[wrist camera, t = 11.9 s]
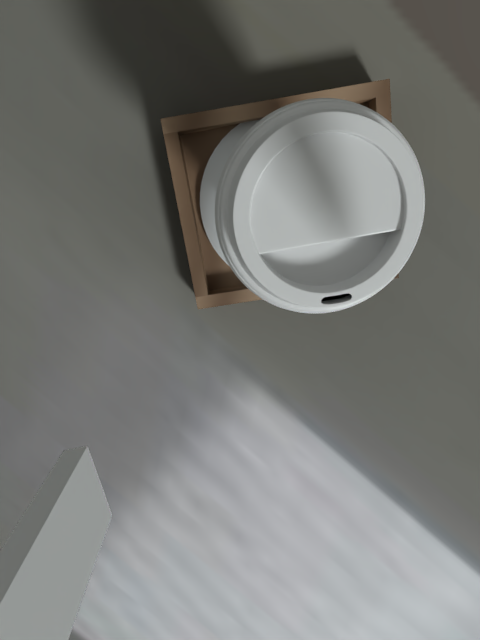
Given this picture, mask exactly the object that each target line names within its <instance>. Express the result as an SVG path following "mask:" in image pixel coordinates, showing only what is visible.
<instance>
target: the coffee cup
mask: <svg viewBox="0 0 480 640" xmlns="http://www.w3.org/2000/svg"><path fill="white" fill-rule="evenodd" d="M424 210H425V191H424V183H423V178H422V173H421V170H420V166H419V163H418V161H417V158H416V156H415V154H414V152H413V150H412V148H411V146H410V145H409V143H408V142H407V140H406V139H405V137H404V136H403V135H402V134H401V132H400V131H399V130H398V129H397V128H396V127H395V126H394V125H393V124H392V123H391V122H390V121H388V120H387V119H386V118H384V117H383V116H382V115H380V114H379V113H377V112H375V111H373V110H372V109H370V108H367V107H365V106H363V105H360V104H358V103H355V102H351V101H347V100H343V99H336V98H314V99H307V100H302V101H298V102H294V103H291V104H289V105H286V106H284V107H281V108H279V109H277V110H275V111H273V112H272V113H270V114H268V115H267V116H265V117H264V118H262V119H261V120H260V121H259V122H257V123H256V124H255V125H254V126H253V127H252V128H250V129H249V130H248V131H247V133H246V134H245V135H244V136H243V137H242V138H241V139H240V141H239V142H238V143H237V145H236V146H235V147H234V149H233V151H232V152H231V154H230V156H229V157H228V159H227V161H226V163H225V166H224V168H223V170H222V173H221V176H220V179H219V183H218V187H217V192H216V198H215V225H216V232H217V236H218V240H219V244H220V247H221V250H222V252H223V254H224V257H225V259H226V261H227V263H228V264H229V266H230V268H231V269H232V271H233V272H234V274H235V275H236V276H237V277H238V279H239V280H240V281H241V282H242V283H243V284H244V285H245V286H246V287H247V288H248V289H249V290H250V291H252V292H253V293H254V294H255V295H257V296H258V297H260V298H261V299H263V300H265V301H267V302H268V303H271V304H273V305H275V306H278V307H280V308H283V309H287V310H291V311H295V312H301V313H328V312H334V311H339V310H343V309H346V308H349V307H352V306H354V305H357V304H359V303H361V302H363V301H365V300H367V299H368V298H370V297H372V296H373V295H375V294H376V293H377V292H379V291H380V290H381V289H383V288H384V287H385V286H386V285H387V284H388V283H389V282H390V281H392V280H393V278H394V277H395V276H396V275H397V274H398V273H399V272H400V270H401V269H402V268H403V266H404V265H405V263H406V262H407V260H408V259H409V257H410V255H411V253H412V252H413V250H414V247H415V245H416V243H417V240H418V238H419V235H420V231H421V228H422V223H423V218H424Z"/></svg>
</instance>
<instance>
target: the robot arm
mask: <svg viewBox="0 0 480 640" xmlns="http://www.w3.org/2000/svg"><path fill="white" fill-rule="evenodd" d="M111 518H112V513H111V510H110V507H109V505H108V502H107V499H106V496H105V494H104V491H103V488H102V485H101V482H100V480H99V477H98V474H97V471H96V468H95V466H94V463H93V460H92V457H91V454H90V452H89V449H88V446H84V447H79V448H74V449H69V450H64V451H63V453H62V454H61V456H60V457H59V459H58V461H57V462H56V464H55V465H54V467H53V468H52V470H51V472H50V473H49V475H48V476H47V478H46V479H45V481H44V483H43V484H42V486H41V487H40V489H39V490H38V492H37V494H36V495H35V497H34V498H33V500H32V501H31V503H30V505H29V506H28V508H27V509H26V511H25V513H24V514H23V516H22V517H21V519H20V520H19V522H18V524H17V525H16V527H15V528H14V530H13V531H12V533H11V535H10V536H9V538H8V539H7V541H6V542H5V544H4V546H3V547H2V549H1V550H0V640H68V639H69V636H70V633H71V631H72V628H73V625H74V622H75V619H76V617H77V614H78V611H79V608H80V605H81V602H82V600H83V597H84V594H85V591H86V588H87V586H88V583H89V580H90V577H91V574H92V572H93V569H94V566H95V563H96V560H97V557H98V555H99V552H100V549H101V546H102V543H103V541H104V538H105V535H106V532H107V529H108V526H109V524H110V521H111Z"/></svg>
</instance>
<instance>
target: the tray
mask: <svg viewBox="0 0 480 640" xmlns="http://www.w3.org/2000/svg"><path fill="white" fill-rule="evenodd" d="M314 98H336V99H343V100H347V101H351V102H355V103H358V104H360V105H363V106H365V107H367V108H370V109H372V110H373V111H375V112H377V113H379V114H380V115H382V116H383V117H384V118H386V119H387V120H388V121H390V122H391V123H392V121H391V98H390V79H386V80H380V81H374V82H368V83H363V84H357V85H351V86H345V87H340V88H334V89H328V90H322V91H317V92H311V93H305V94H300V95H294V96H288V97H282V98H277V99H271V100H265V101H259V102H254V103H248V104H242V105H236V106H231V107H225V108H219V109H213V110H208V111H202V112H196V113H190V114H185V115H179V116H173V117H168V118H162V119H161V124H162V129H163V135H164V140H165V145H166V150H167V155H168V160H169V165H170V170H171V175H172V180H173V185H174V190H175V195H176V201H177V206H178V211H179V216H180V221H181V226H182V231H183V236H184V241H185V246H186V251H187V256H188V261H189V267H190V272H191V277H192V282H193V287H194V292H195V297H196V302H197V307H198V309H203V308H210V307H216V306H222V305H229V304H235V303H241V302H248V301H254V300H260V299H261V298H260V297H258V296H257V295H255V294H254V293H253V292H252V291H250V290H249V289H248V288H247V287H246V286H245V285H244V284H243V283H242V282H241V281H240V280H239V279H238V277H237V276H236V275H235V274H234V272H233V271H232V269H231V268H230V266H229V265H227V264H226V263H225V262H224V260H223V259H222V258H221V257H220V256H219V255H218V253H217V252H216V251H215V249H214V248H213V246H212V244H211V243H210V241H209V239H208V237H207V234H206V231H205V229H204V226H203V222H202V218H201V211H200V189H201V182H202V178H203V174H204V171H205V168H206V166H207V163H208V161H209V159H210V157H211V155H212V153H213V151H214V150H215V148H216V147H217V145H218V144H219V143H220V142H221V140H222V139H223V138H224V137H225V136H226V135H227V134H228V133H229V132H230V131H231V130H232V129H233V128H235V127H236V126H237V125H239V124H240V123H244V122H250V121H256V120H261V119H262V118H264V117H265V116H267V115H268V114H270V113H272V112H273V111H275V110H277V109H279V108H281V107H284V106H286V105H289V104H291V103H294V102H298V101H302V100H307V99H314ZM394 278H399V275H398V274H397V275H396V276H395V277H394ZM394 278H393V279H394Z"/></svg>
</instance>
